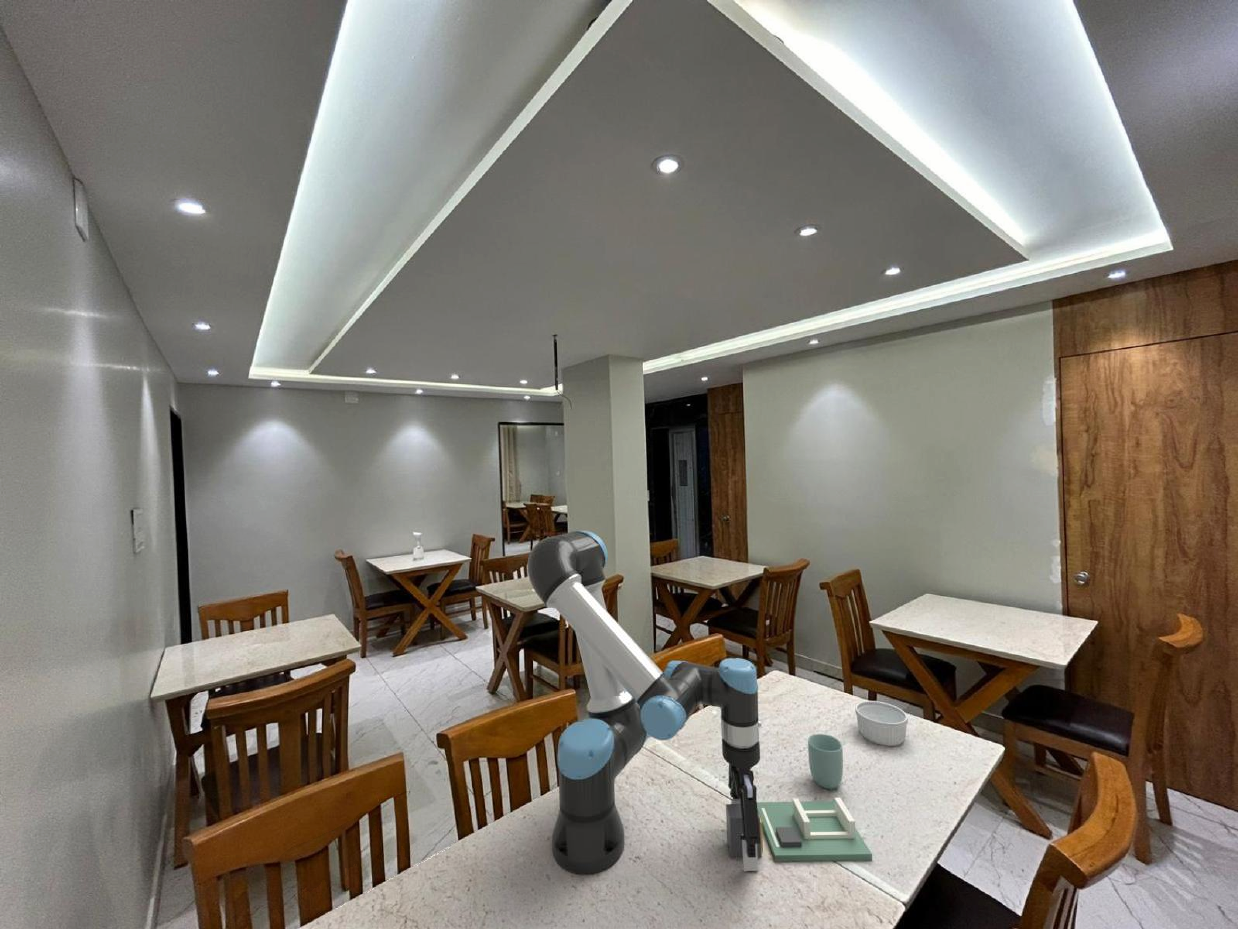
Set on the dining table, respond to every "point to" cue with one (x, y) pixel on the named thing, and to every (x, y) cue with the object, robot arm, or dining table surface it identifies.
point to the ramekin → (881, 722)
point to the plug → (738, 831)
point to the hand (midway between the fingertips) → (744, 849)
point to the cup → (825, 760)
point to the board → (811, 831)
